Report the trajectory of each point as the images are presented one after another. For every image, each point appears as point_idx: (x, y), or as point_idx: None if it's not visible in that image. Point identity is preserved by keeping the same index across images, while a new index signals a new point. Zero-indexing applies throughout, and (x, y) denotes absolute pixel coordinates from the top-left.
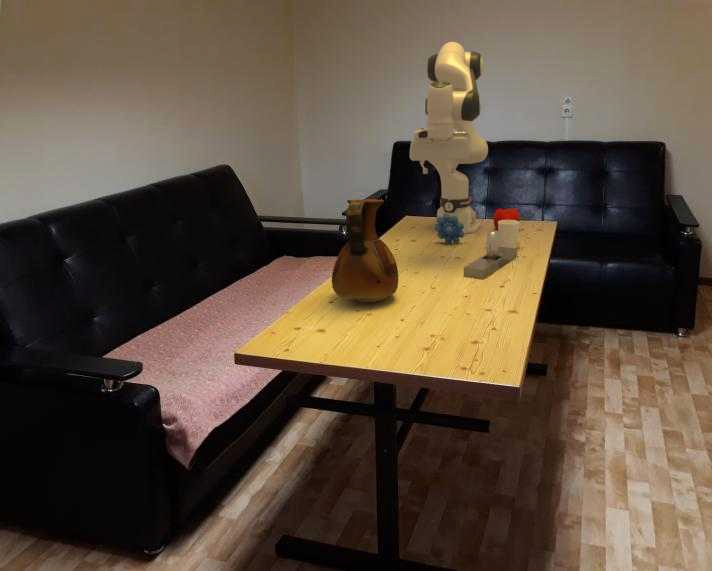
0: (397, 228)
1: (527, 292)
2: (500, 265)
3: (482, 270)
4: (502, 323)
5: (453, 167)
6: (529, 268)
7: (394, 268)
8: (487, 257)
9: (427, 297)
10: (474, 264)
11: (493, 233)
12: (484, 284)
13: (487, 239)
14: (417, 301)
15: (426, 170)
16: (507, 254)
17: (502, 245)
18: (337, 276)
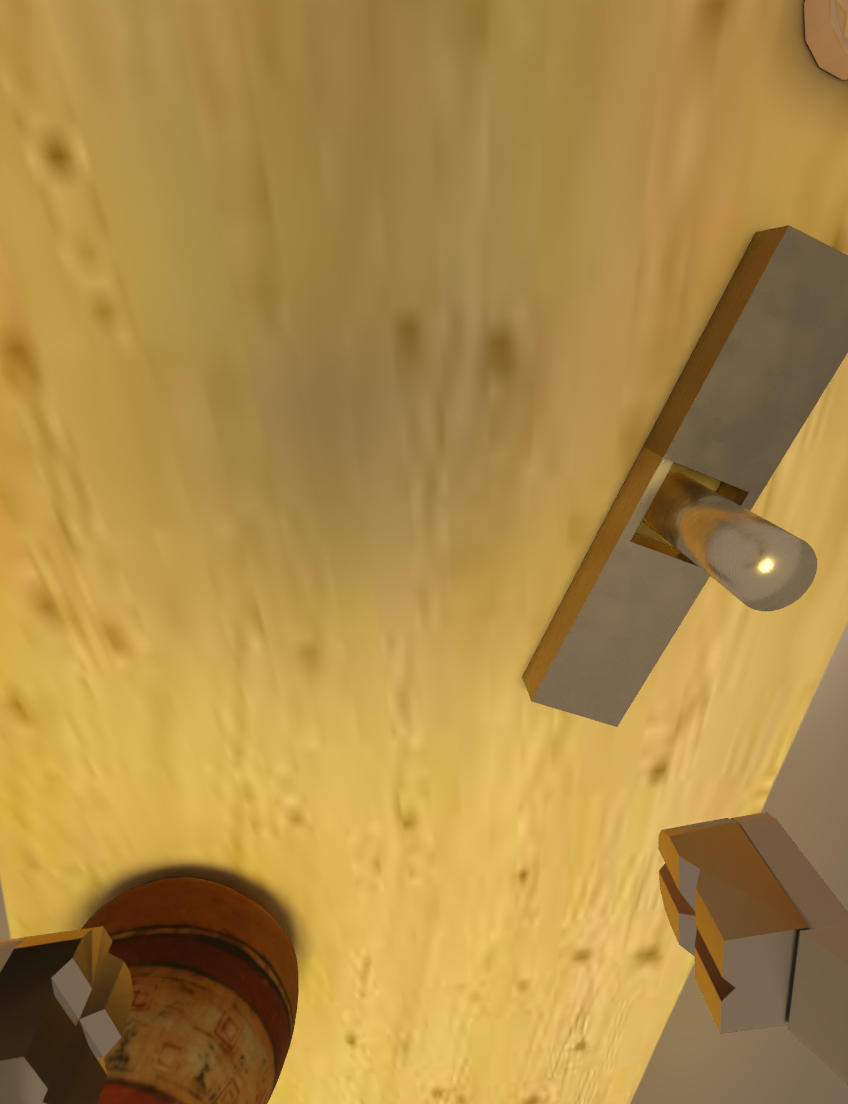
0: None
1: (734, 813)
2: None
3: (610, 722)
4: (606, 1019)
5: (803, 986)
6: (841, 520)
7: (280, 1071)
8: (664, 537)
9: (397, 899)
10: (583, 650)
11: (769, 609)
12: (598, 758)
13: (712, 574)
14: (370, 932)
15: (74, 1085)
16: (789, 440)
17: (836, 56)
18: None
